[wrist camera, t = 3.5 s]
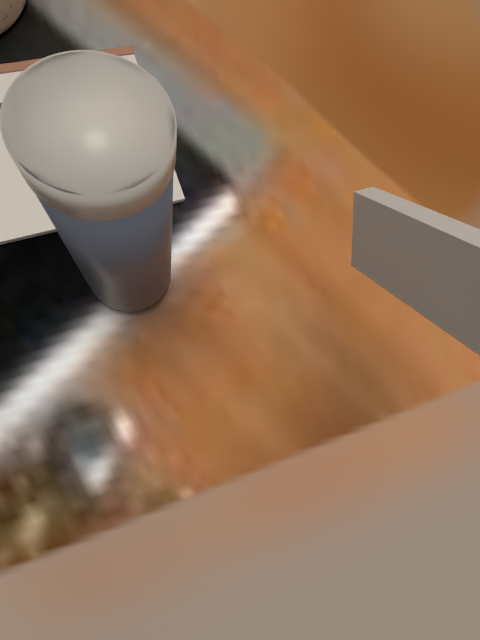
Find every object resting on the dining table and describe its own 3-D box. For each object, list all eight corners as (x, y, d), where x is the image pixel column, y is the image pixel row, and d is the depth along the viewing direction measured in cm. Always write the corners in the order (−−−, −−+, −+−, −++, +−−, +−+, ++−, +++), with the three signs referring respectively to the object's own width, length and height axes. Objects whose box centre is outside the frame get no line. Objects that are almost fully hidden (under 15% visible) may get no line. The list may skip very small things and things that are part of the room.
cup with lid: (102, 327, 21) (23, 215, 9) (80, 253, 22) (-19, 63, 10) (181, 304, 22) (198, 176, 10) (157, 233, 22) (148, 39, 11)
